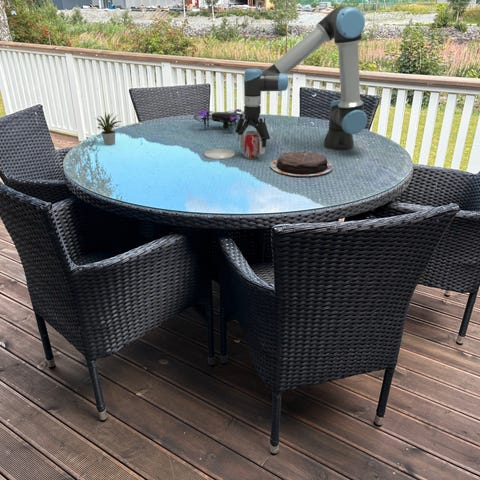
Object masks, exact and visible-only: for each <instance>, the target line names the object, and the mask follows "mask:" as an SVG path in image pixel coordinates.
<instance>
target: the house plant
mask: <svg viewBox="0 0 480 480" xmlns="http://www.w3.org/2000/svg"><path fill="white" fill-rule="evenodd" d="M112 116H113V113H112V114H111V115H110V113H108V114H107V112H105V113H104V118H103V116H101V115H99V117H100V118H101V119H100V118H99V117H95V120H97V121H98V122H99V123H98V126H97V127H96V129H98V130H103V131H102V132H101V137H102V139H103V143H104V145H105V146H114V145H115V144H116V131H115V130H114V129H115V128H119V127H120V126H121V125H120V124H118V123H120V122H122V121H121V120H117V119H118V116H119V115H118V114H117V115H115V116H114V117H113V118H112V120H110V119H111V117H112ZM115 120H116V121H115ZM113 121H114V122H113ZM116 124H118V125H116Z"/></svg>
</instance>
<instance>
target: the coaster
mask: <svg viewBox="0 0 480 480" xmlns="http://www.w3.org/2000/svg"><path fill="white" fill-rule="evenodd" d="M235 156H236V152H235V151H234V150H232V149H228V148H213V149H209V150H206V151H205V152H204V158H207V159H211V160H227V159H232V158H234V157H235Z"/></svg>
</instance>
